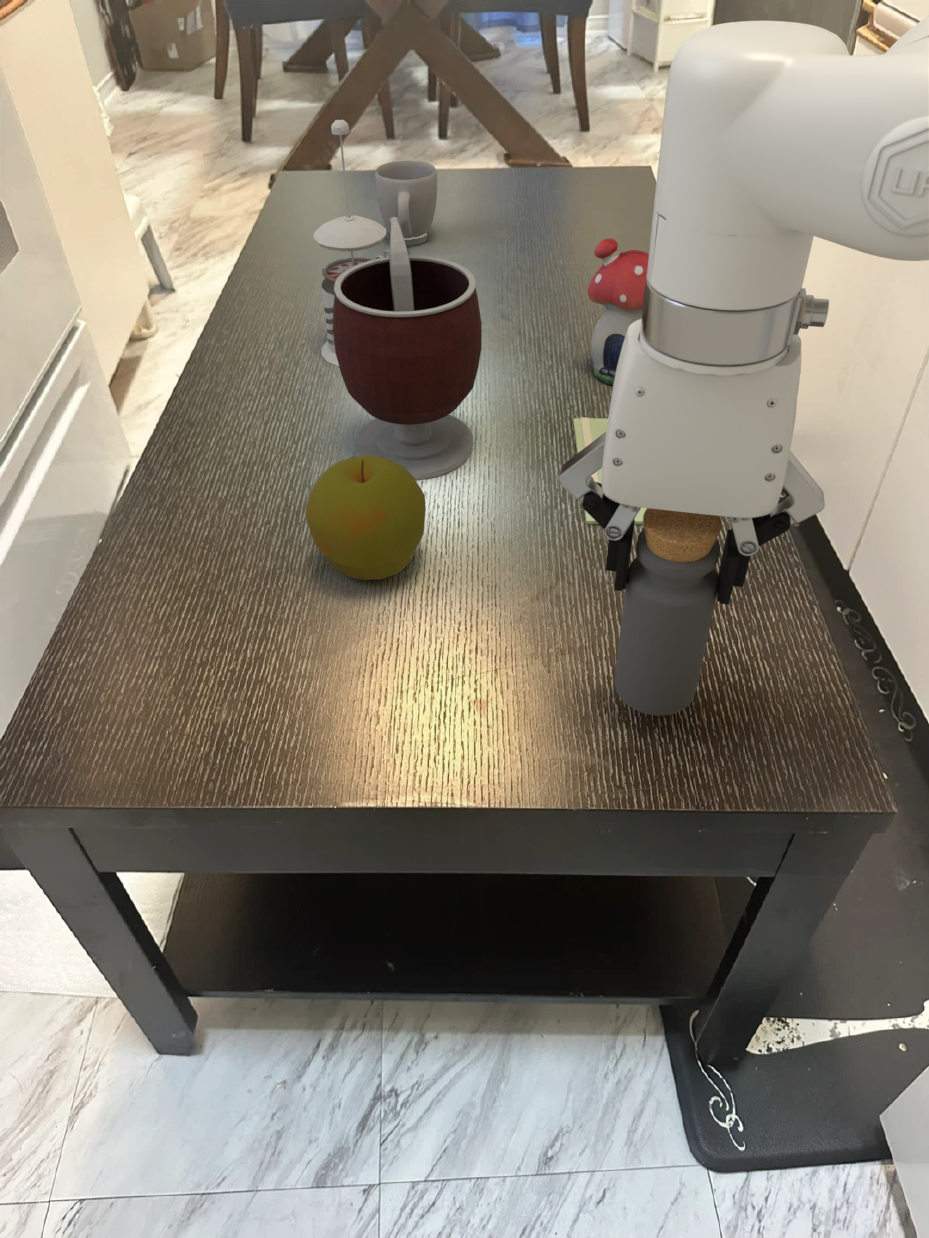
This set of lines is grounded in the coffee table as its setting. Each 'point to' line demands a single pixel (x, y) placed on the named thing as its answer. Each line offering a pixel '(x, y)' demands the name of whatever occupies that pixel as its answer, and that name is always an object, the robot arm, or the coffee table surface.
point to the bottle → (667, 611)
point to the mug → (407, 196)
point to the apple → (366, 517)
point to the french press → (343, 249)
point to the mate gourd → (409, 355)
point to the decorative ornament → (615, 303)
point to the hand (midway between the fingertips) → (672, 581)
